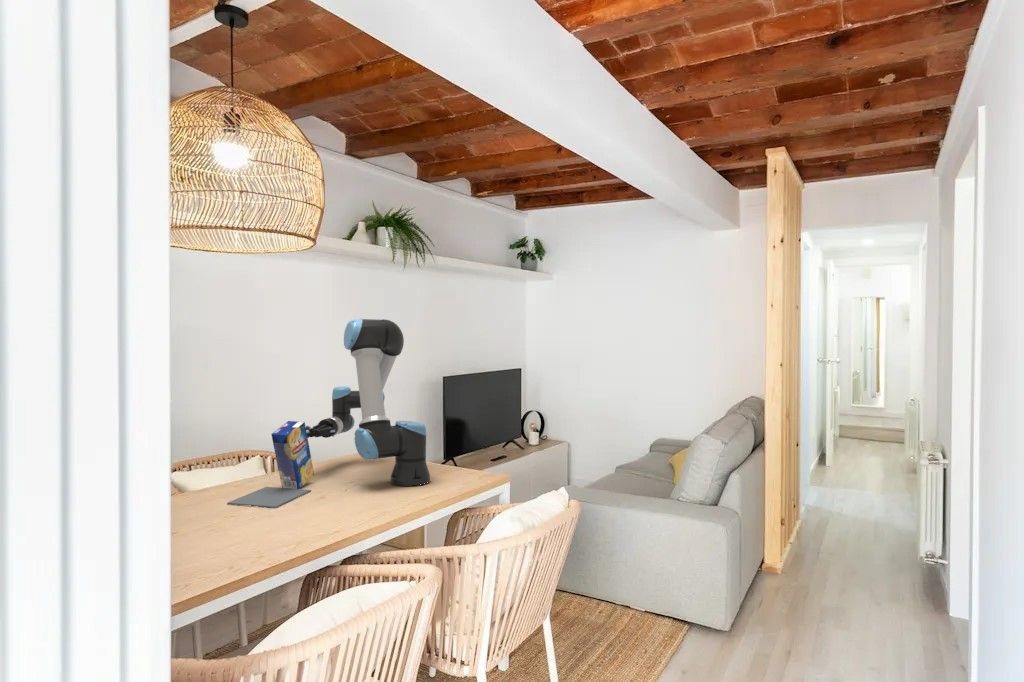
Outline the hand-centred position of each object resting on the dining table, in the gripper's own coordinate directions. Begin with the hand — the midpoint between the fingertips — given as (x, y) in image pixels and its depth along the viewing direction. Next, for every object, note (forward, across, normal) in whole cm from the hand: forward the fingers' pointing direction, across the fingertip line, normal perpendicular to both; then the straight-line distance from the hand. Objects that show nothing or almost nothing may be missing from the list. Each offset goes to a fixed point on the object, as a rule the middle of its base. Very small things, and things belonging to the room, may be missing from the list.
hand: (298, 436), depth 241 cm
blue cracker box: (+1, -1, -17) cm, 17 cm away
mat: (+19, -1, -18) cm, 26 cm away
